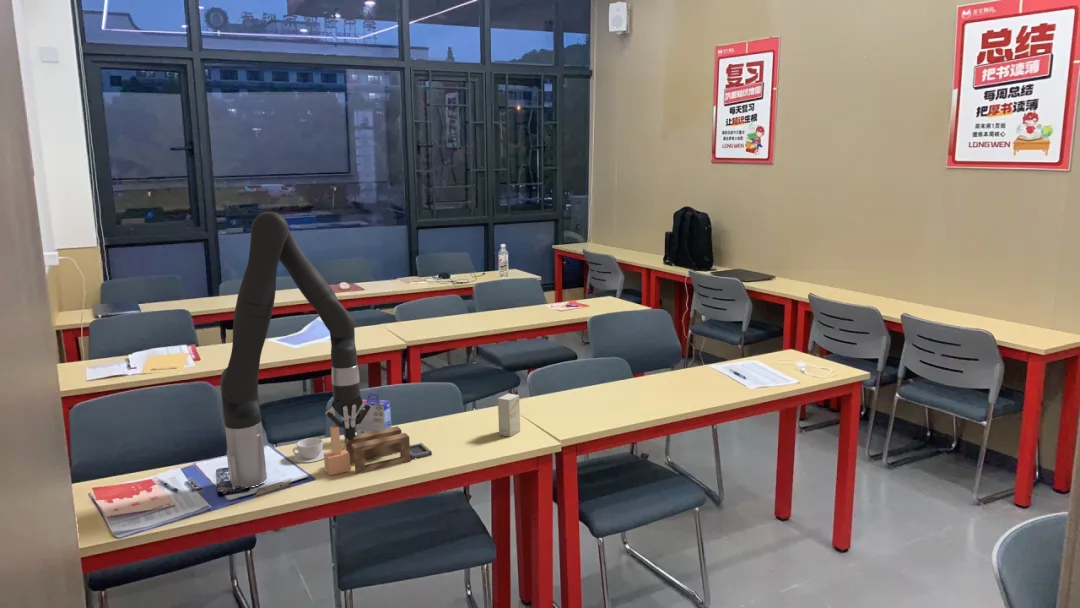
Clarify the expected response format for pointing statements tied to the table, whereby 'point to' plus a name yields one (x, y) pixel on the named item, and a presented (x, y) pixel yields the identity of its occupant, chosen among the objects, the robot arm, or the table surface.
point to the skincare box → (509, 414)
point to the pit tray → (419, 451)
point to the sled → (336, 455)
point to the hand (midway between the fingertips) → (350, 439)
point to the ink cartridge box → (375, 415)
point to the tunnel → (378, 448)
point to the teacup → (309, 450)
